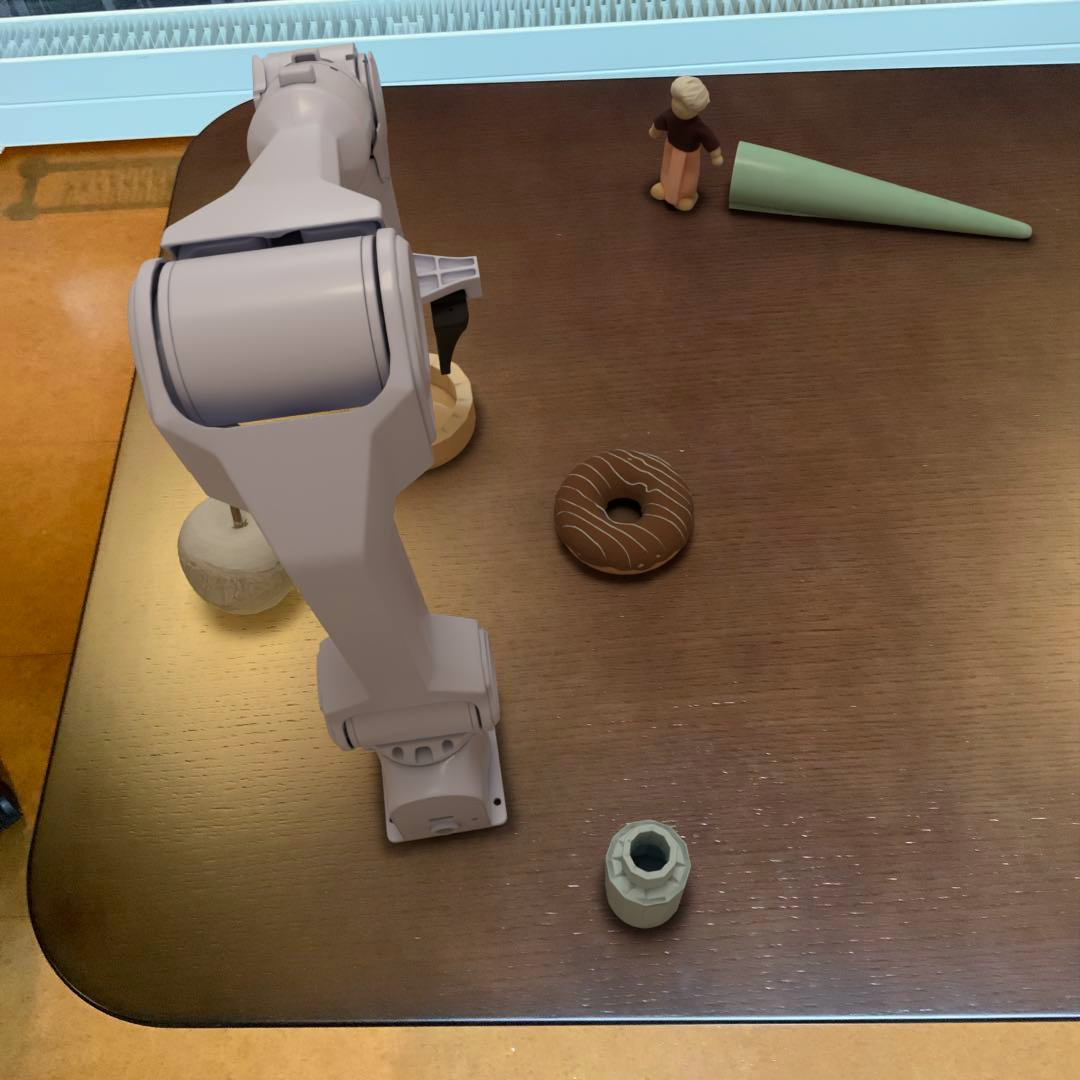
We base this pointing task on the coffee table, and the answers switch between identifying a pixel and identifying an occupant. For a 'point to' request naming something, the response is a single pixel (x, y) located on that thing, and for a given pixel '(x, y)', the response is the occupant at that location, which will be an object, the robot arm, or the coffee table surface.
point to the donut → (622, 542)
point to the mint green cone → (849, 196)
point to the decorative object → (230, 560)
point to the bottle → (646, 873)
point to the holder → (450, 411)
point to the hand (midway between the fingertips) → (392, 372)
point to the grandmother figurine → (684, 143)
